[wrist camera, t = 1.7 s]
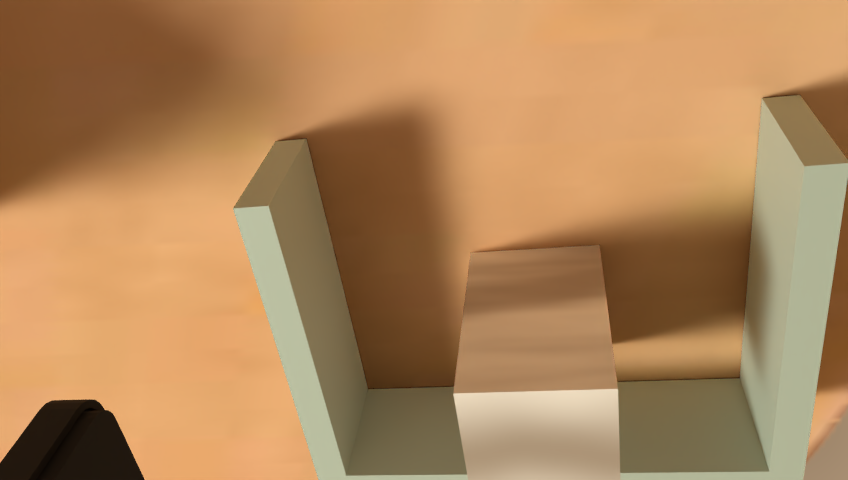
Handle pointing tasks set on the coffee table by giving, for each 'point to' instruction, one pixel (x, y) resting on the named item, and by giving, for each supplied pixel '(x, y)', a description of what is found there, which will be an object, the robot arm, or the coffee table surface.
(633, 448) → the u-shaped bracket
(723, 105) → the coffee table surface
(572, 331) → the beige block
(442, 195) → the coffee table surface
